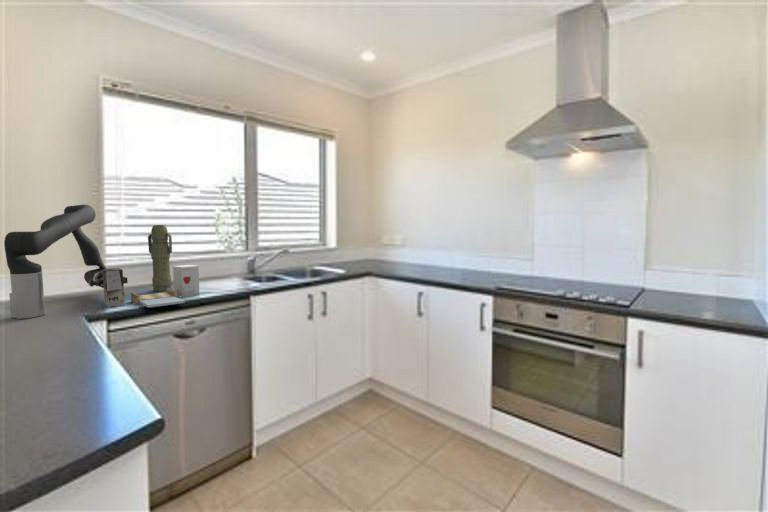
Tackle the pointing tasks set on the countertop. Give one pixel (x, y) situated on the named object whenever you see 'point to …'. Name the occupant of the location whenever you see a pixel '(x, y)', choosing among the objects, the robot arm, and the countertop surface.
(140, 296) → the flatbed
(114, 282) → the coffee box
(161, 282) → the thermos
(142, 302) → the panel
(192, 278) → the supplement box
